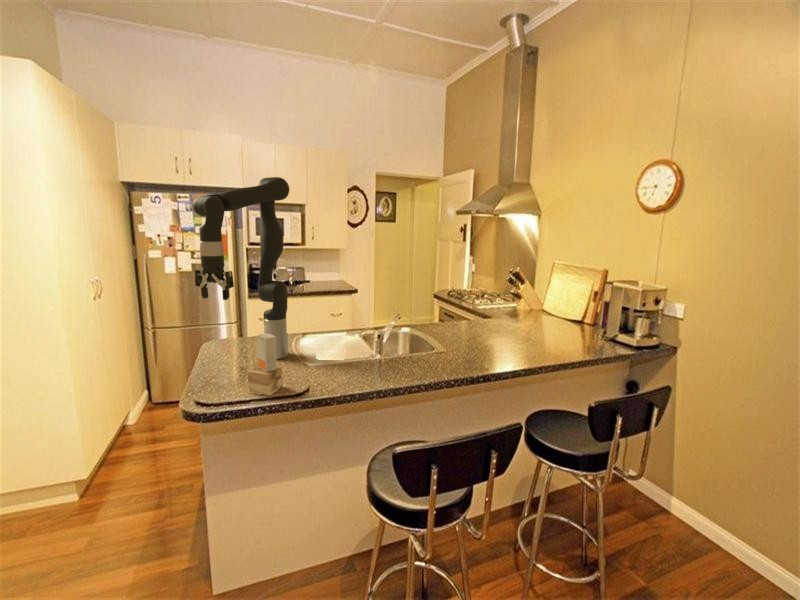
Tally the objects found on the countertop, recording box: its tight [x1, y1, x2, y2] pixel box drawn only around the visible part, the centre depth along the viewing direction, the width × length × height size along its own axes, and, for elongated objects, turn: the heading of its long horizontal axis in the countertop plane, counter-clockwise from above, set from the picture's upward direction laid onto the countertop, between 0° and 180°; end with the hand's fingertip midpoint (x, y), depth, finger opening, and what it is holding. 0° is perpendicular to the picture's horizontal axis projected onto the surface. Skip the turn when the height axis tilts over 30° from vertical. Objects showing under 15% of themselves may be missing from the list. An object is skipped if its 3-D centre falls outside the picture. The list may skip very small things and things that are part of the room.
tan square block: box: [247, 365, 283, 386], centre depth 139 cm, size 8×8×4 cm
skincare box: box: [256, 333, 278, 372], centre depth 138 cm, size 6×4×12 cm
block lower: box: [248, 377, 283, 394], centre depth 140 cm, size 8×8×4 cm
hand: (215, 298), depth 144 cm, fingers open, 8 cm apart
